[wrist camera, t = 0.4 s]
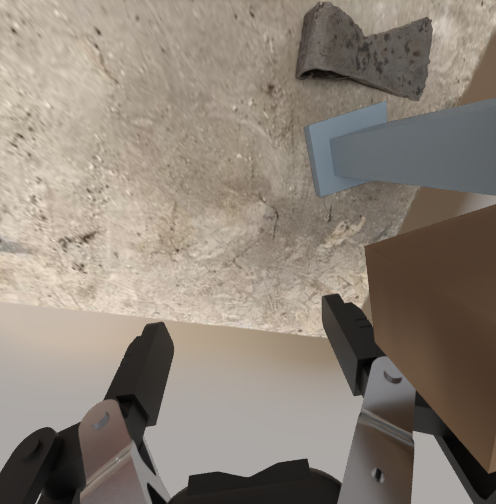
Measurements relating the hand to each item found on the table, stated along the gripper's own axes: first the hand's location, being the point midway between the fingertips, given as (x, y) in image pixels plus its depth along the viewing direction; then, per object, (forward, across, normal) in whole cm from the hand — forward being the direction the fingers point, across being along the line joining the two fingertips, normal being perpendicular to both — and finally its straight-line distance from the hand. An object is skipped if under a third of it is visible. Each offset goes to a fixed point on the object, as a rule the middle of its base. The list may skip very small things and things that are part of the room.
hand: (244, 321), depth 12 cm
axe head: (+31, -21, -14) cm, 40 cm away
